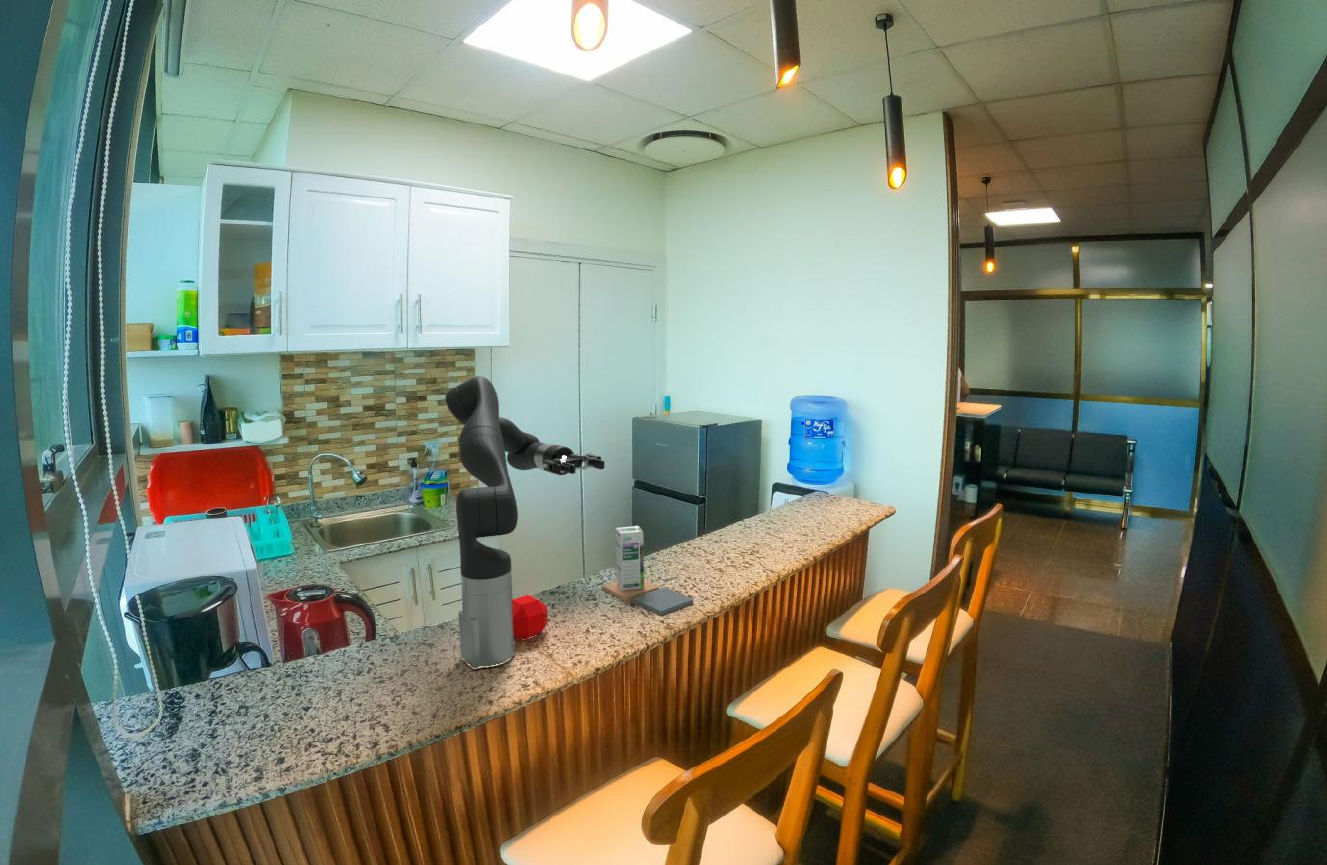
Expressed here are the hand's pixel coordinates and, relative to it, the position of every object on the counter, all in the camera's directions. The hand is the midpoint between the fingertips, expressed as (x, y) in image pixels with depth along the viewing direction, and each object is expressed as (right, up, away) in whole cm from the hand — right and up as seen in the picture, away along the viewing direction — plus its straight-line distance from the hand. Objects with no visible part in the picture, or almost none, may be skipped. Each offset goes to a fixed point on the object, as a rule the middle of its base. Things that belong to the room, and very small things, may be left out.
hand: (588, 467), depth 153 cm
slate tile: (+18, -31, -7) cm, 37 cm away
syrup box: (+10, -29, 0) cm, 31 cm away
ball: (-10, -34, -23) cm, 42 cm away
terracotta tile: (+10, -30, 0) cm, 32 cm away
